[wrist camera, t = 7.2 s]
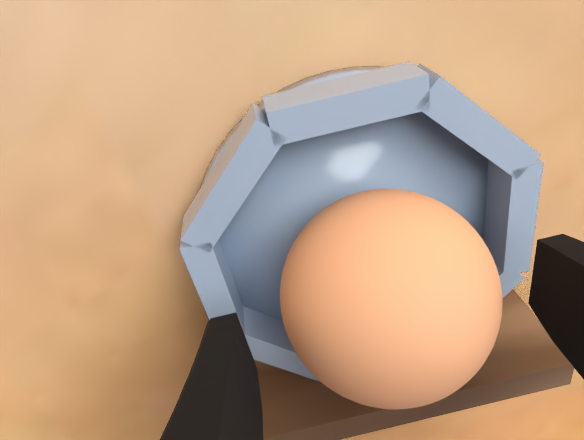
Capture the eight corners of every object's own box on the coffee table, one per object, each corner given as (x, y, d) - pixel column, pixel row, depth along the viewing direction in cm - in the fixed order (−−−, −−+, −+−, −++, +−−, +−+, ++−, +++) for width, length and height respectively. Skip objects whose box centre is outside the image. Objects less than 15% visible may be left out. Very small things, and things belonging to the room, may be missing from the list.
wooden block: (509, 306, 17) (569, 383, 14) (227, 374, 17) (227, 466, 14) (511, 287, 16) (575, 363, 13) (219, 357, 16) (219, 449, 13)
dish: (489, 295, 16) (520, 336, 15) (242, 355, 16) (244, 403, 15) (509, 27, 11) (559, 43, 9) (147, 113, 11) (134, 143, 9)
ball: (441, 280, 14) (541, 423, 10) (288, 319, 14) (321, 482, 10) (439, 134, 12) (576, 244, 7) (249, 181, 12) (272, 323, 7)
